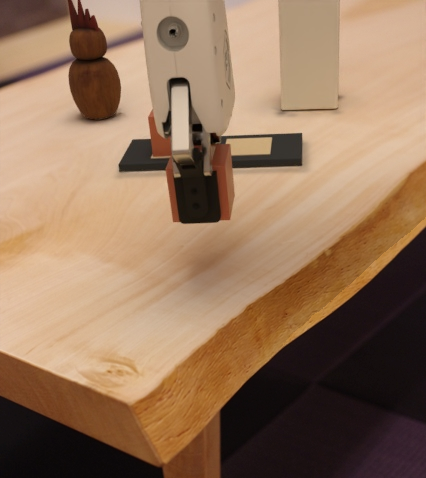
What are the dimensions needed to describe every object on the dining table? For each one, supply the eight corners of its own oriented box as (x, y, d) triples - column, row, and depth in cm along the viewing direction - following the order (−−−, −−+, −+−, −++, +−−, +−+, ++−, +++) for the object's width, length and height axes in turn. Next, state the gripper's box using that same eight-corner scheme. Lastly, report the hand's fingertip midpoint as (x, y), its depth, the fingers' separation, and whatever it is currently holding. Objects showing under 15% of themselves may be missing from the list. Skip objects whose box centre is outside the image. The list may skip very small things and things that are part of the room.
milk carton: (337, 109, 94) (339, -58, 83) (281, 111, 95) (276, -54, 85) (338, 93, 100) (340, -66, 89) (285, 94, 101) (281, -62, 91)
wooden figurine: (68, 116, 100) (46, -3, 92) (104, 105, 103) (85, -11, 95) (95, 126, 96) (74, 2, 87) (131, 115, 98) (114, -7, 90)
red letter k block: (234, 195, 61) (230, 141, 58) (230, 220, 57) (224, 164, 55) (181, 198, 62) (174, 145, 59) (172, 222, 58) (165, 166, 55)
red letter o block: (198, 141, 85) (194, 101, 83) (192, 155, 82) (189, 113, 79) (159, 142, 86) (154, 102, 84) (152, 156, 82) (147, 115, 80)
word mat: (302, 139, 86) (302, 131, 85) (301, 165, 79) (301, 157, 79) (133, 145, 88) (132, 138, 88) (119, 171, 82) (117, 163, 81)
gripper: (219, -28, 42) (243, 257, 52) (241, -67, 56) (257, 163, 66) (90, -16, 43) (138, 260, 53) (143, -58, 57) (174, 168, 67)
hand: (204, 204), depth 59 cm, fingers closed on red letter k block, 4 cm apart
